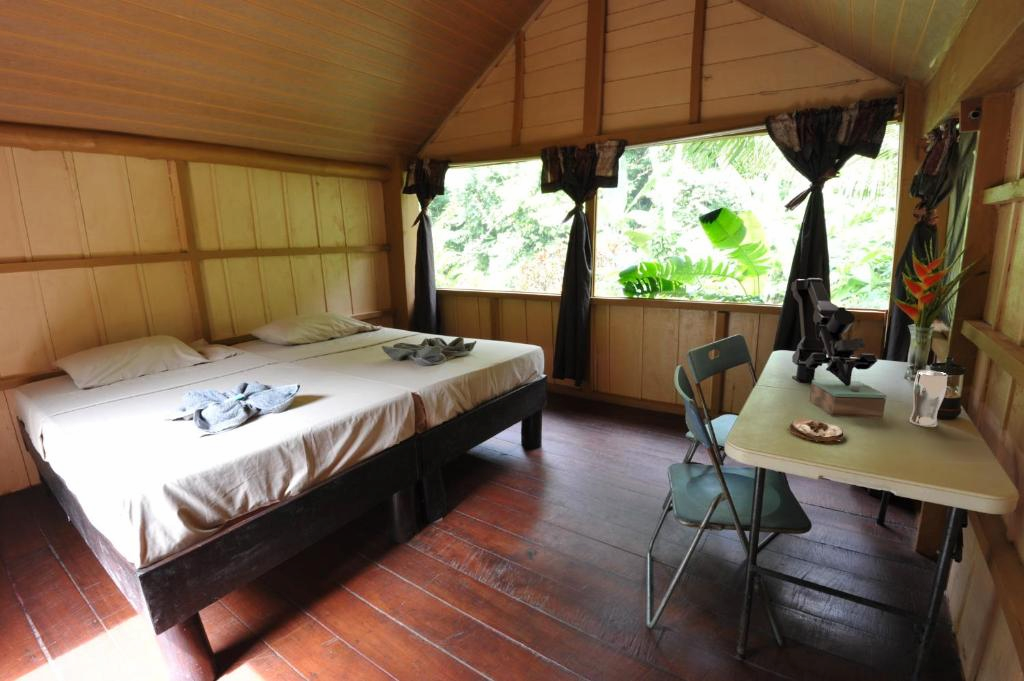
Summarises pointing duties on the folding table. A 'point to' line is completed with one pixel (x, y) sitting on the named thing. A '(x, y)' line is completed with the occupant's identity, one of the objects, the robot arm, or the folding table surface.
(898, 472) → the folding table surface
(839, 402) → the walnut box
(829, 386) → the lid
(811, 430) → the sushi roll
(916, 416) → the beer glass
